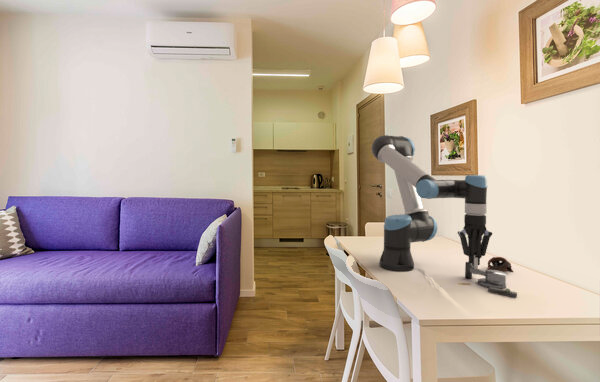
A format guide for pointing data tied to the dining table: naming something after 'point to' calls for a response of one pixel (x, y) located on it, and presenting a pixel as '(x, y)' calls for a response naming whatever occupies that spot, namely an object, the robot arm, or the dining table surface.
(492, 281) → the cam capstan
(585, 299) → the dining table surface
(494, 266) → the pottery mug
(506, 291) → the stand board
